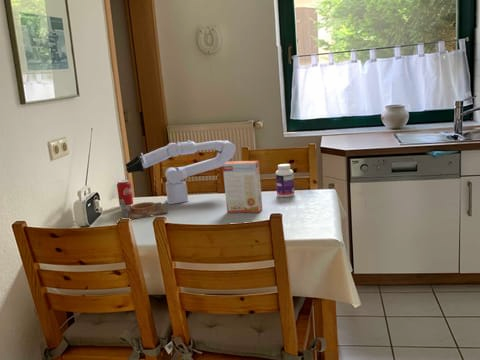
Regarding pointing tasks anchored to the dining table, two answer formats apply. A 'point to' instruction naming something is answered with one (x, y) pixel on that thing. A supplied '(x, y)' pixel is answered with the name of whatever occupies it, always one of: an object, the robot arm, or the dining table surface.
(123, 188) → the beverage can
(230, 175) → the cracker box
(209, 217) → the dining table surface
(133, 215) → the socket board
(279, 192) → the pill bottle
